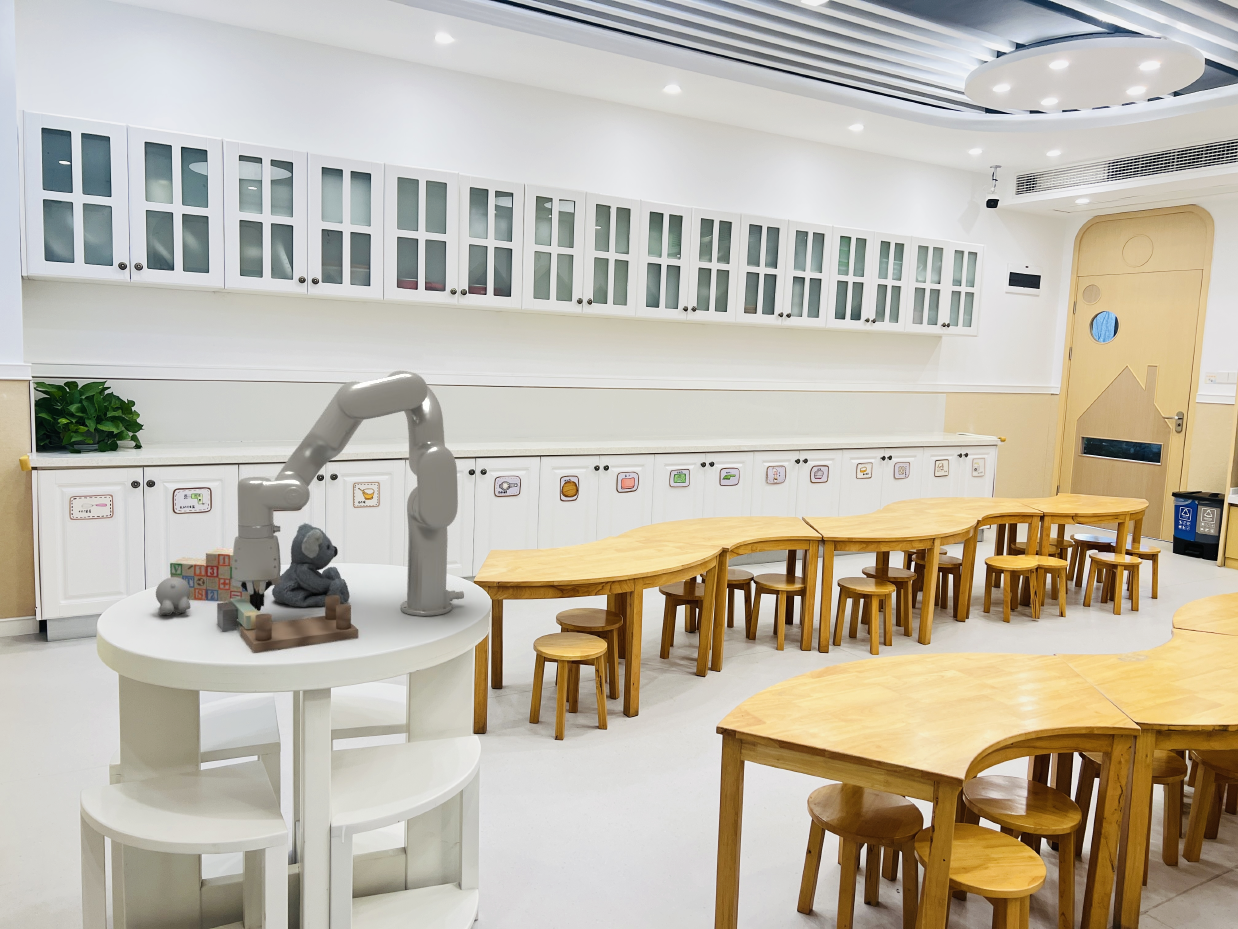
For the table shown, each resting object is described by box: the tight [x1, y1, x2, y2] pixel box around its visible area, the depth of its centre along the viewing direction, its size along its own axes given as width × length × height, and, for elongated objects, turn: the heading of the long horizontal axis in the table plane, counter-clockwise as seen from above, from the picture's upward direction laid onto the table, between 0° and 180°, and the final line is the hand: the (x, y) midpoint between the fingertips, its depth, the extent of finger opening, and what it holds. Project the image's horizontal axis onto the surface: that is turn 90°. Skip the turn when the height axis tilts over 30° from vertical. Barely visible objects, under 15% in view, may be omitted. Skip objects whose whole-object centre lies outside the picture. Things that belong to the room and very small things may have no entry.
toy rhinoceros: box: [155, 576, 191, 616], centre depth 207 cm, size 7×12×8 cm, turn 35°
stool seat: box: [239, 595, 359, 654], centre depth 194 cm, size 22×13×7 cm, turn 125°
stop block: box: [216, 602, 238, 633], centre depth 198 cm, size 3×6×5 cm, turn 35°
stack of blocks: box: [169, 547, 261, 603], centre depth 220 cm, size 21×6×12 cm, turn 88°
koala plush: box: [271, 522, 350, 608], centre depth 221 cm, size 17×18×20 cm
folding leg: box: [230, 597, 261, 629], centre depth 197 cm, size 15×3×3 cm, turn 36°
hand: (257, 609), depth 202 cm, fingers closed
